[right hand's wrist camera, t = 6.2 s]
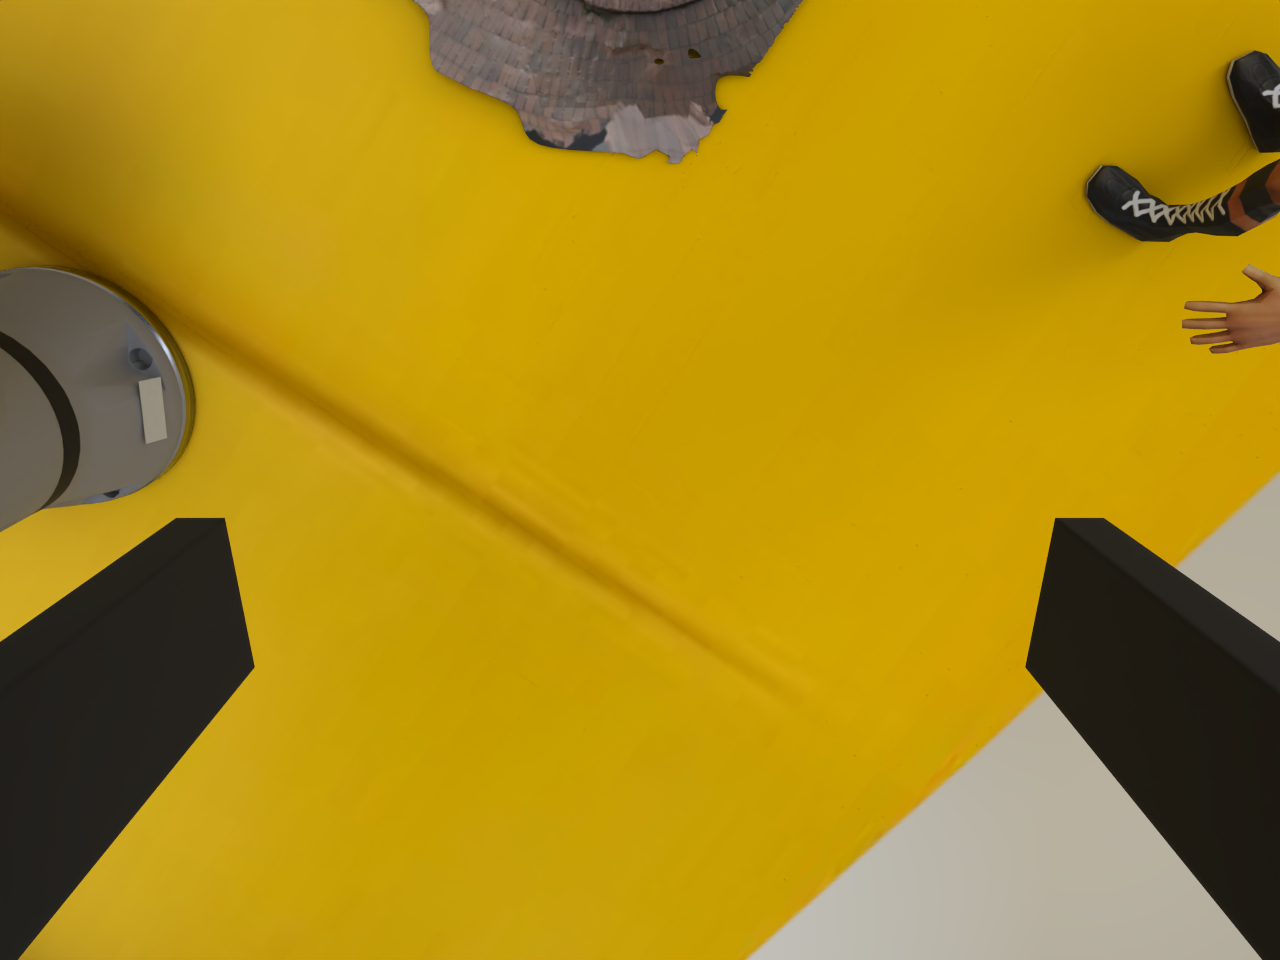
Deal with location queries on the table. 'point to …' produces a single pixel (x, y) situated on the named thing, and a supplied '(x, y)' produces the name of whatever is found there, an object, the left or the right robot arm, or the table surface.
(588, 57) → the sculpture
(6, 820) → the right robot arm
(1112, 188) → the figurine
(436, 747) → the table surface
